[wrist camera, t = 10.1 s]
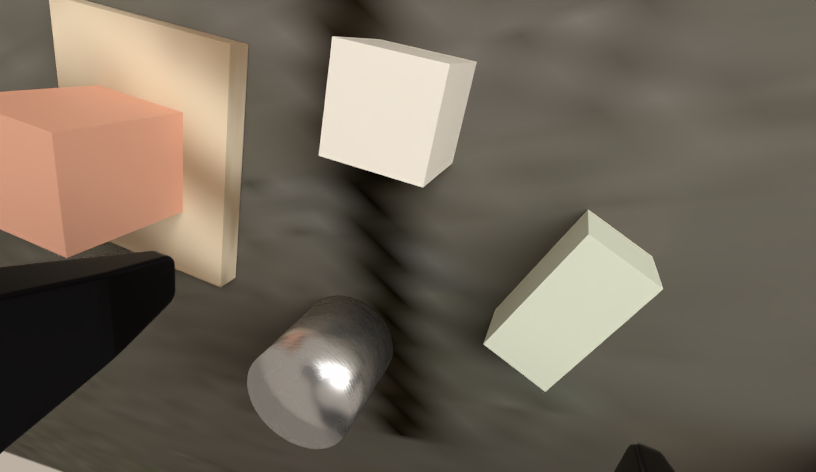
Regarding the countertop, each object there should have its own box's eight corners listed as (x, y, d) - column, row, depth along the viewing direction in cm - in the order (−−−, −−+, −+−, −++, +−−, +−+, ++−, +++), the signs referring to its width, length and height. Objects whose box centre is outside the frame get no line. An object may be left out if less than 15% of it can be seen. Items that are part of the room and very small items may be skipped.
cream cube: (452, 163, 19) (422, 187, 16) (365, 137, 20) (318, 155, 17) (477, 61, 18) (449, 63, 14) (380, 39, 19) (332, 36, 15)
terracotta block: (182, 211, 24) (66, 257, 18) (105, 182, 25) (-26, 217, 19) (182, 112, 21) (51, 132, 16) (97, 85, 23) (-52, 95, 17)
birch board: (235, 277, 26) (220, 287, 25) (93, 220, 28) (74, 227, 27) (248, 44, 20) (230, 44, 19) (73, -3, 23) (48, -6, 22)
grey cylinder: (383, 393, 25) (340, 466, 21) (301, 357, 26) (244, 419, 22) (402, 316, 23) (358, 380, 18) (312, 281, 24) (250, 333, 20)
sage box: (550, 348, 21) (545, 391, 18) (495, 307, 21) (483, 344, 18) (651, 254, 18) (663, 289, 16) (588, 207, 18) (588, 234, 16)
